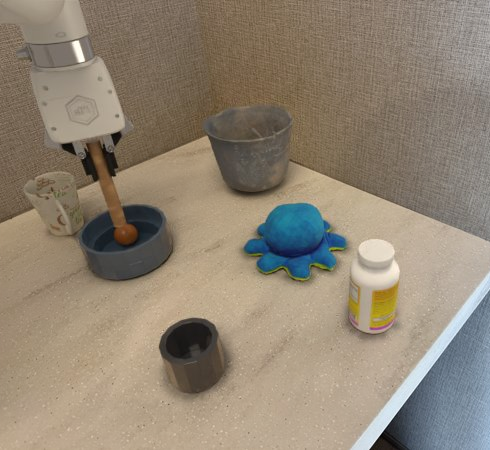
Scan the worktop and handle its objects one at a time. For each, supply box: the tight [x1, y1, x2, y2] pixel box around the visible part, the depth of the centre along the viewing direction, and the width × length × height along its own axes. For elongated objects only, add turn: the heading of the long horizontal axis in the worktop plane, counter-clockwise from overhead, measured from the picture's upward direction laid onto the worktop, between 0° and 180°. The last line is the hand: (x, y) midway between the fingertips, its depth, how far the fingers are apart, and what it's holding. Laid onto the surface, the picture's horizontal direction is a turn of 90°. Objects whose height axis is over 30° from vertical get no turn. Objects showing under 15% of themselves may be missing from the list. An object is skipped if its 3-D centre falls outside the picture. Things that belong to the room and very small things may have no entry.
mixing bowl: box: [77, 203, 173, 281], centre depth 77 cm, size 14×14×6 cm
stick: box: [85, 138, 127, 227], centre depth 69 cm, size 2×2×14 cm
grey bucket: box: [202, 104, 295, 193], centre depth 91 cm, size 18×18×15 cm
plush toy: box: [243, 202, 348, 282], centre depth 76 cm, size 17×17×8 cm
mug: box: [23, 171, 85, 237], centre depth 82 cm, size 8×13×10 cm, turn 40°
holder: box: [158, 317, 225, 394], centre depth 57 cm, size 7×7×6 cm
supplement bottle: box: [348, 238, 401, 335], centre depth 61 cm, size 7×7×13 cm
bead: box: [114, 223, 138, 246], centre depth 79 cm, size 4×4×4 cm
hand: (103, 174), depth 69 cm, fingers closed on stick, 2 cm apart
